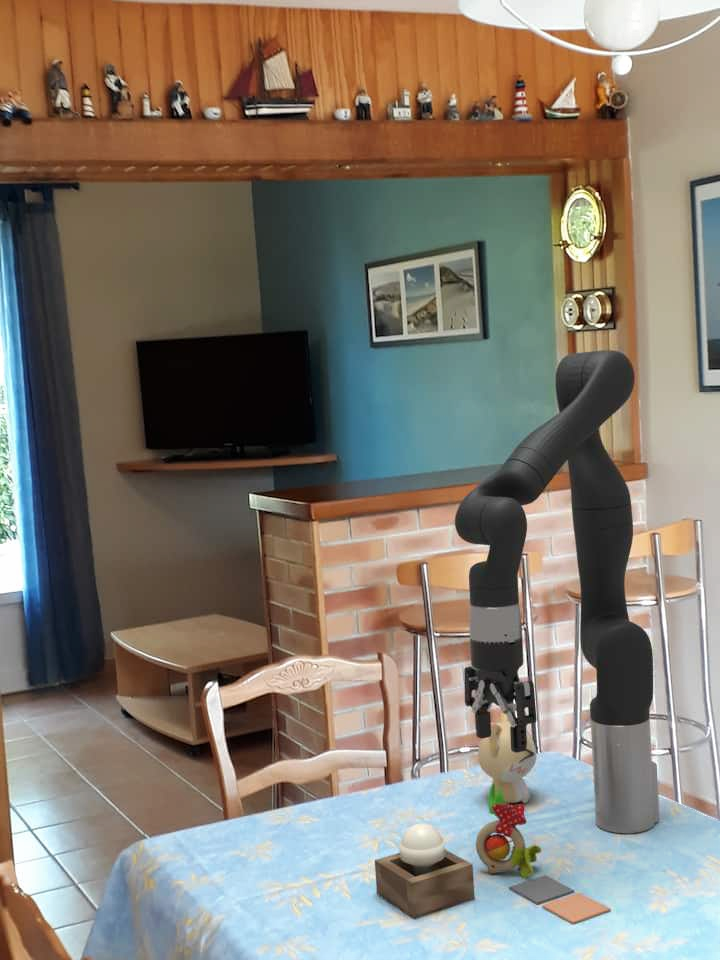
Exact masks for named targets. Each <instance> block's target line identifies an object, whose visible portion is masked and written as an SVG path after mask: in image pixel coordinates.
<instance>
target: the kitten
mask: <svg viewBox="0 0 720 960" xmlns="http://www.w3.org/2000/svg"><path fill="white" fill-rule="evenodd" d="M510 727H511V724H510V722H509V720H508V717H507V715H506V714H504V713H503V712H502V711H501V714H500V717H499V722H497V723H495V722H491V736H490V737H487V738H483V739H480V741H479V745H478V751H477V758H478V764H479V766H480V768H481V770H482V771H483V772H484V773H485V774H486V775H487V776H488V777H490V778H492V779H491V780H492V781H491V782H492V783H491V785H490V789H489V793H488V809H489V811H488V812H489V813H491V814H494V816H496V814H495V813H494V811H493V809H492V805H493V804H495V803H497V804H507V803H508V804H514V803H515V804H517V803H519V802H521V803H522V804H527V803H528V801H529V800H530V798H531V793H530V789H529V787H528V784H527V783H526V781H525V779H524V777H526V776H527V775H528V774H529V773H530V772H531V771H532V769H533V768H534V767H535V765H536V762H537V756H538V755H537V750H538V749H539V747H538V745H537V742H536V741H535V739H534V738H533V737H532V735H531V733H530V731H528V730H527V729H526V733H527V737H526V738H527V747H526V750H525V751H522V752H518V753H515V752H513V751H512V750H511V737H510ZM496 817H497V816H496Z"/></svg>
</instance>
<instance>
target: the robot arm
mask: <svg viewBox="0 0 720 960" xmlns="http://www.w3.org/2000/svg"><path fill="white" fill-rule="evenodd" d="M554 383H555V395H556V402H557V407H558V413H557V414H556V415H555V416H553V417H551V418H550V419H549V420H548V421H546V422H545V423H543V424H542V425H540V426H538V427H537V428H536V429H534V430H533V431H532V432H530V433H529V434H527V436H526V437H525V438H524V439H522V441H520V443H519V444H518V445H517V446H516V447H515V449H514V450H513V451H512V453H511V454H510V455H509V456H508V457H507V459H506V460H505V461H504V463H503V464H502V466H501V467H500V468H499V469H498V470H497V471H496V472H494V473H492V474H491V475H489V476H488V477H487V478H486V479H484V480H483V481H482V482H481V483H479V484H478V485H477V486H476V487H474V489H472V490H471V491H470V492H469V493H468V494H466V496H464V498H463V499H462V500H461V502H460V504H459V505H458V507H457V509H456V512H455V517H454V527H455V531H456V532H457V535H458V536H459V538H460V539H462V541H464V542H466V543H469V544H472V545H481V546H489V547H488V548H489V549H488V554H487V558H486V560H484V561H479V562H476V563H475V564H473V565H471V567H470V569H469V572H468V585H469V586H468V587H469V603H470V604H469V616H468V617H469V619H468V625H469V626H468V628H469V643H470V644H469V645H470V664H471V666H467V667H465V668H464V679H463V680H464V705H465V706H466V707H470V708H471V711H472V713H473V714H474V722H475V731H476V734H475V735H476V737H477V738H478V739H480V740H481V739H483V738H487V737H490V736H491V723H492V722H491V721H492V720H491V718H492V717H491V712H490V709H491V707H492V704H495V705H496V706H499V708H500V710H501V713H502V712H503V713H504V714H506V715H507V717H508V720H509V722H510V724H511V727H510V737H511V750H512V751H513V752H515V753H518V752H522V751H525V750H526V747H527V738H526V737H527V733H526V730H527V726H528V725H529V724H534V723H536V722H537V719H538V718H537V707H536V696H535V694H536V693H535V685H534V684H535V683H534V681H532V680H525V681H523V680H522V681H521V680H520V677H519V673H518V672H519V669H520V668H521V667H522V666H523V665H524V646H523V645H524V644H523V643H524V642H523V641H524V640H523V622H522V613H521V607H520V603H519V602H520V596H519V579H518V576H519V570H520V565H521V561H522V557H523V552H524V547H525V544H526V538H527V533H528V521H527V520H528V519H527V515H526V512H525V509H524V508H523V506H527V505H530V504H532V503H534V502H535V501H537V499H538V498H540V496H541V495H542V494H543V492H544V490H546V488H547V487H548V485H549V484H550V483H551V482H552V480H553V479H554V477H555V476H556V474H557V473H558V472H559V470H561V468H562V466H564V464H565V463H566V462H567V466H568V467H567V468H568V474H569V475H568V476H569V484H570V499H571V500H570V501H571V502H570V504H571V514H572V516H571V517H572V524H573V532H574V533H573V534H574V541H575V550H576V551H575V553H576V559H577V561H576V562H577V568H578V575H579V576H578V577H579V584H580V585H579V586H580V587H579V588H580V622H579V623H580V624H579V625H580V629H579V630H580V631H579V632H580V634H579V635H580V637H579V640H580V641H579V643H580V648H581V649H580V650H581V651H582V655H583V656H584V658H585V660H586V661H587V663H589V665H590V666H592V667H593V668H595V669H596V673H595V674H596V695H595V696H594V697H593V698H592V699H591V701H590V703H589V710H590V711H589V717H590V734H591V735H590V736H591V751H592V772H593V789H594V790H593V791H594V792H593V793H594V810H595V811H594V813H595V824H596V825H597V827H599V828H600V829H602V830H603V831H607V832H611V833H617V834H618V833H619V834H635V833H636V832H637V833H640V832H641V833H643V832H645V831H648V830H650V829H652V828H653V827H654V826H655V824H656V823H659V822H660V803H659V801H660V800H659V782H658V764H657V763H656V762H654V761H653V758H652V757H653V755H652V737H651V721H650V720H651V716H650V711H651V709H650V708H651V705H652V703H653V699H654V656H653V655H654V654H653V646H652V642H651V639H650V637H649V635H648V633H647V632H646V630H644V628H642V627H641V626H640V625H638V624H637V623H634V622H633V621H630V617H629V612H628V606H627V599H626V598H627V597H626V590H625V589H626V588H625V581H626V580H625V579H626V571H627V567H628V562H629V558H630V555H631V549H632V545H633V539H634V520H633V510H632V500H631V493H630V488H629V486H628V484H627V483H626V480H625V478H624V476H623V475H622V474H621V472H620V470H619V468H618V467H617V465H616V464H615V462H614V461H613V459H612V458H611V456H610V455H609V453H608V451H607V449H606V448H605V445H604V443H603V440H602V437H601V433H600V427H601V426H603V424H604V423H605V422H607V421H608V419H610V418H611V417H612V416H614V414H615V413H617V412H618V411H619V410H620V409H621V408H622V407H623V406H624V404H626V402H628V400H629V398H630V397H631V395H632V393H633V390H634V386H635V370H634V366H633V364H632V362H631V360H630V359H629V357H628V356H626V354H624V353H622V352H621V351H618V350H610V349H608V350H605V349H604V350H602V349H601V350H594V351H586V352H585V351H583V352H577V353H576V352H575V353H570V354H568V355H565V356H564V357H562V358H561V360H560V361H559V363H558V365H557V369H556V371H555V381H554ZM473 691H475V694H474V696H473V695H472V694H473ZM514 701H515V702H514ZM513 702H514V703H513ZM526 708H527V711H528V714H527V711H526ZM514 712H516V715H517V717H516V715H515V713H514Z"/></svg>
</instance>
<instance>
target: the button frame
mask: <svg viewBox="0 0 720 960" xmlns="http://www.w3.org/2000/svg"><path fill="white" fill-rule="evenodd" d="M473 865H474V864H473V863H471V862H469V861H468V860H465V859H464V858H461V856H460V857H459V856H458V855H456V854H454V853H452V852H450V851H449V850H447V849H445V857H444V859H442V860H441V861H439V862H436V863H435V864H433V870H434V871H433V872H429V873H426V874H423V875H419V876H416V877H415V876H414V868H413V865H411V864H408V863H405V862H403V861H402V860H401V859H400V852H398V853H394V854H391V855H387V856H384V857H381V858H377V859H375V860H374V871H375V884H376V885H375V887H376V895H378V894H379V895H380V896H379V895H378V896H379V897H380V898H382V897H383V898H382V899H383V900H385V899H386V900H385V901H386V902H388V903H390V904H391V905H392V906H394V907H396V908H397V909H399V911H401V912H403V913H405V914H406V915H407V916H409V917H411V918H412V919H414V920H415V919H418V918H422V917H424V916H428V915H431V914H433V913H437V912H440V911H443V910H447V909H448V908H452V907H455V906H457V905H461V904H464V903H467V902H470V901H473V900H475V899H476V898H475V896H476V895H475V883H474V882H475V881H474V880H475V879H474V866H473Z"/></svg>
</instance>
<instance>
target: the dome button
mask: <svg viewBox="0 0 720 960" xmlns="http://www.w3.org/2000/svg"><path fill="white" fill-rule="evenodd" d="M398 846H399V847H398V849H399V853H400V859H401V860H402V861H403V862H405V863H408V864H411V865H413V868H414V876H415V877H416V876H419V875H423V874H426V873H429V872H433V871H434V870H433V864H435V863H436V862H439V861H441V860H442V859H444V857H445V850H446V844H445V839H444V837H442V835H441V833H440V832H439V831H438V829H437V828H436V827H434V826H433V825H431V824H428V823H424V822H422V823H421V822H420V823H416V824H412V825H411V826H409V827H408V828H407V829H406V830H405V831H404V832H403V835H402V836H401V839H400V840H399V842H398Z"/></svg>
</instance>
